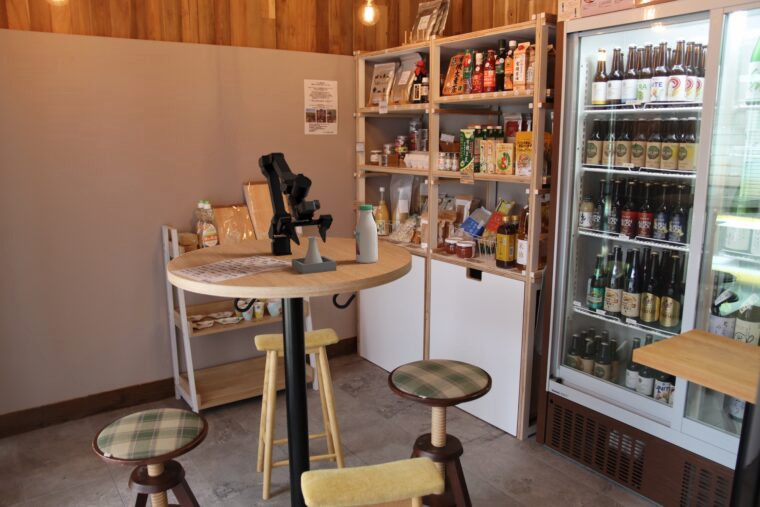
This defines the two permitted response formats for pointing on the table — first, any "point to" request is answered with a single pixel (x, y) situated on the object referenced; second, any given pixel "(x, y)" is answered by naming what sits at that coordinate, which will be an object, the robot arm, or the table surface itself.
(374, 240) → the milk bottle
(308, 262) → the flask
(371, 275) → the table surface
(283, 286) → the table surface
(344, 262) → the table surface
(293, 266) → the box
